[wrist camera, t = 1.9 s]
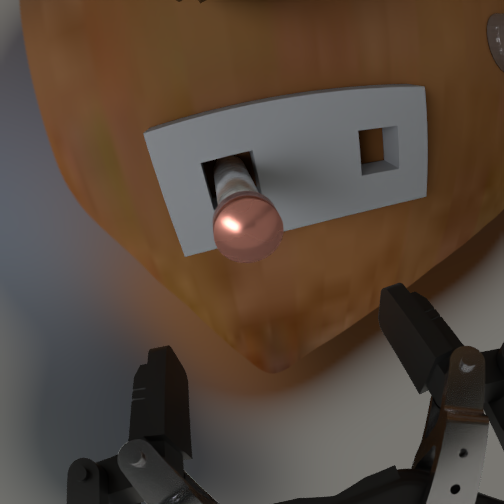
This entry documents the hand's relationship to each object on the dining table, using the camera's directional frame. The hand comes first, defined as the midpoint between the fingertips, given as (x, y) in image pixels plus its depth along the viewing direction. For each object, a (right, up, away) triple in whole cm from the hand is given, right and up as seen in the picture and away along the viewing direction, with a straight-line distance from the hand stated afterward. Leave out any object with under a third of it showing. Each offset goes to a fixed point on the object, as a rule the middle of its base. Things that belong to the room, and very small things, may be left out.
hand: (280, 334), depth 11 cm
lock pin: (-3, +11, +17) cm, 20 cm away
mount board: (+4, +12, +17) cm, 22 cm away
